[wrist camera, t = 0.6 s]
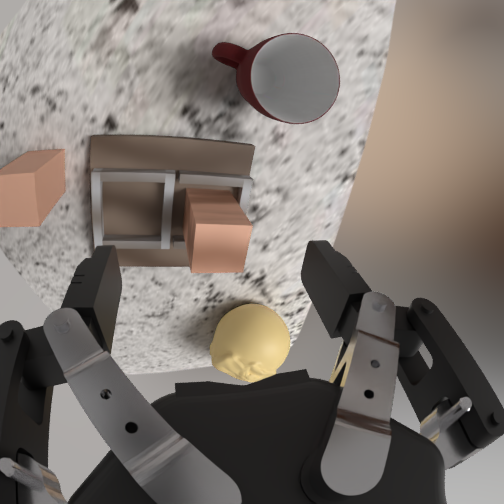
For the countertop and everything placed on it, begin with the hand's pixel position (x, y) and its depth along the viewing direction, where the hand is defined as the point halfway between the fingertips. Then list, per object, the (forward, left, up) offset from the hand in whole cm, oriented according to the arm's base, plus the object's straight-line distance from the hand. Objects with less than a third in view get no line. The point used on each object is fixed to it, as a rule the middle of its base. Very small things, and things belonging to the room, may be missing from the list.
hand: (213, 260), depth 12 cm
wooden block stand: (+7, -1, -22) cm, 23 cm away
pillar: (+3, -16, -22) cm, 27 cm away
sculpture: (+27, +12, -22) cm, 37 cm away
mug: (-9, +6, -22) cm, 25 cm away
